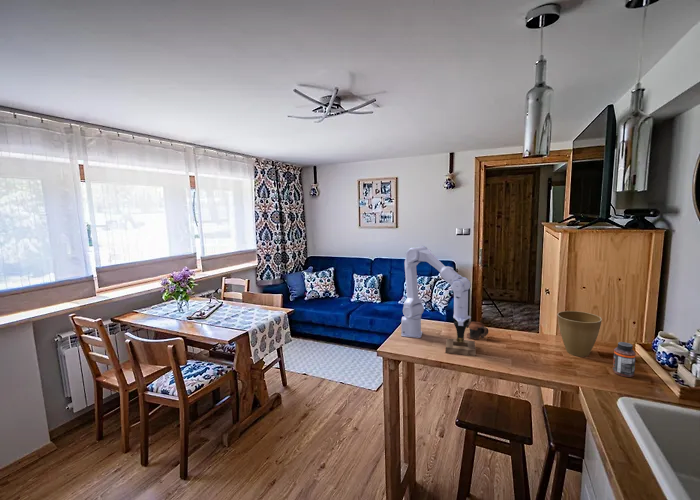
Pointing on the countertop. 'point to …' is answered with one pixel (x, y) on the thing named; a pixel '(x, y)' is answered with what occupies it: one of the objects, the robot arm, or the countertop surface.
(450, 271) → the robot arm
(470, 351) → the slot block
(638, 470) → the countertop surface
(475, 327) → the pottery mug
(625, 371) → the supplement bottle
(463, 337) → the pin
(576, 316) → the plant pot
